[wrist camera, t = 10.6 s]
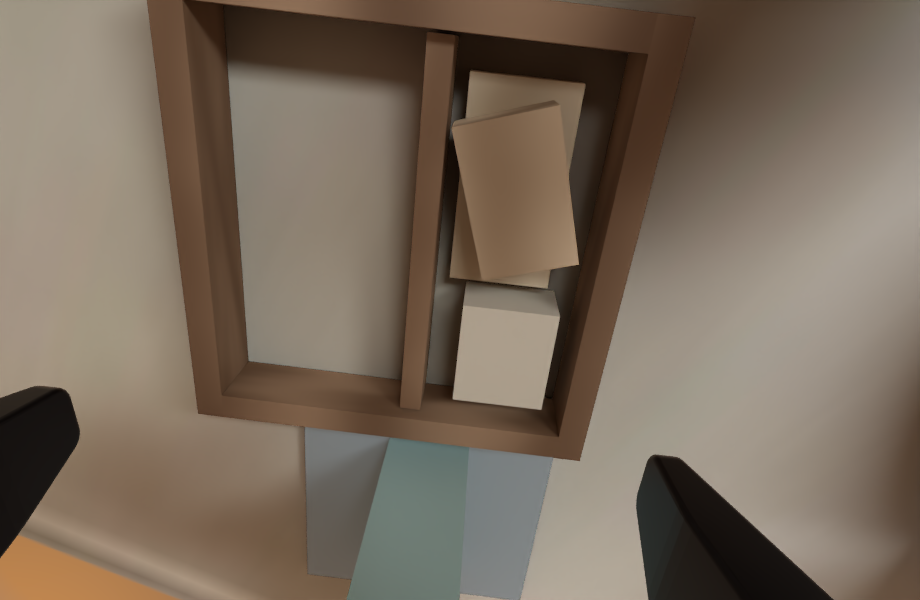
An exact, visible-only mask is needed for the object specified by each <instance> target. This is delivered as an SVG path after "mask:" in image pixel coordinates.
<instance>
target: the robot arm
mask: <svg viewBox="0 0 920 600" xmlns="http://www.w3.org/2000/svg"><path fill="white" fill-rule="evenodd" d="M79 436H80V429H79V425H78V422H77V418H76V415H75V411H74V408H73V405H72V401H71V398H70V395H69V394H68V393H67V391H66V390H64V389H62V388H56V387H47V386H34V387H30V388H28V389H25V390H22V391H19V392H16V393H13V394H10V395H8V396H5V397H2V398H0V558H1V556H2V555H3V554H4V553H5V551H6V550H7V549H8V547H9V546H10V545H11V543H12V542H13V541H14V539H15V538H16V536H17V535H18V534H19V532H20V531H21V530H22V528H23V527H24V525H25V524H26V522H27V521H28V519H29V518H30V516H31V515H32V513H33V512H34V510H35V509H36V507H37V506H38V504H39V502H40V501H41V499H42V498H43V496H44V495H45V493H46V492H47V490H48V489H49V487H50V486H51V484H52V483H53V481H54V479H55V478H56V476H57V475H58V473H59V472H60V470H61V469H62V467H63V466H64V464H65V463H66V461H67V460H68V458H69V456H70V455H71V453H72V452H73V450H74V449H75V447H76V445H77V443H78V440H79ZM636 509H637V517H638V525H639V532H640V540H641V547H642V555H643V562H644V570H645V577H646V585H647V592H648V599H649V600H833V599H832V598H831V597H830V596H829V595H828V594H827V593H826V592H825V591H824V590H823V589H821V588H820V587H819V586H818V585H817V584H816V583H815V582H814V581H813V580H812V579H811V578H810V577H808V576H807V575H806V574H805V573H804V572H803V571H802V570H801V569H800V568H799V567H798V566H797V565H795V564H794V563H793V562H792V561H791V560H790V559H789V558H788V557H787V556H786V555H785V554H784V553H782V552H781V551H780V550H779V549H778V548H777V547H776V546H775V545H774V544H773V543H772V542H771V541H769V540H768V539H767V538H766V537H765V536H764V535H763V534H762V533H761V532H760V531H759V530H758V529H756V528H755V527H754V526H753V525H752V524H751V523H750V522H749V521H748V520H747V519H746V518H745V517H743V516H742V515H741V514H740V513H739V512H738V511H737V510H736V509H735V508H734V507H733V506H732V505H730V504H729V503H728V502H727V501H726V500H725V499H724V498H723V497H722V496H721V495H720V494H719V493H717V492H716V491H715V490H714V489H713V488H712V487H711V486H710V485H709V484H708V483H707V482H706V481H704V480H703V479H702V478H701V477H700V476H699V475H698V474H697V473H696V472H695V471H694V470H693V469H691V468H690V467H689V466H688V465H687V464H686V463H685V462H684V461H683V460H681V459H680V458H678V457H673V456H664V455H652V456H651V457H650V458H649V459H648V461H647V464H646V467H645V471H644V474H643V477H642V481H641V484H640V487H639V490H638V494H637V501H636Z"/></svg>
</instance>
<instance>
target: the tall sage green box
mask: <svg viewBox="0 0 920 600" xmlns="http://www.w3.org/2000/svg"><path fill="white" fill-rule="evenodd" d="M468 456H469V447H463V446H455V445H447V444H439V443H431V442H423V441H415V440H407V439H399V438H391V437H390V439H389V443H388V446H387V450H386V454H385V458H384V461H383V465H382V469H381V473H380V476H379V480H378V484H377V488H376V491H375V495H374V499H373V503H372V506H371V510H370V514H369V517H368V521H367V525H366V529H365V532H364V536H363V540H362V544H361V547H360V551H359V555H358V559H357V562H356V566H355V570H354V574H353V577H352V581H351V585H350V588H349V592H348V596H347V600H459V597H460V582H461V566H462V550H463V535H464V519H465V503H466V488H467V472H468Z"/></svg>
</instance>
